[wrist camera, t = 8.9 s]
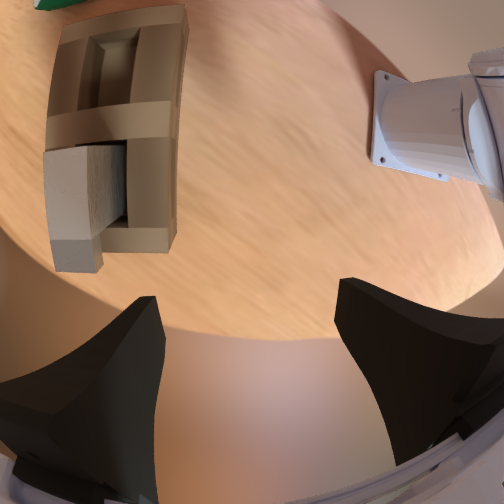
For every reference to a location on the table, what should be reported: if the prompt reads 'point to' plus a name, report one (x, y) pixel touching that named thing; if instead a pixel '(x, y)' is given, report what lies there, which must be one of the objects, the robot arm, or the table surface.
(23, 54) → the table surface
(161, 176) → the tan divided tray
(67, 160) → the white rectangular pillar
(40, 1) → the green elongated piece
